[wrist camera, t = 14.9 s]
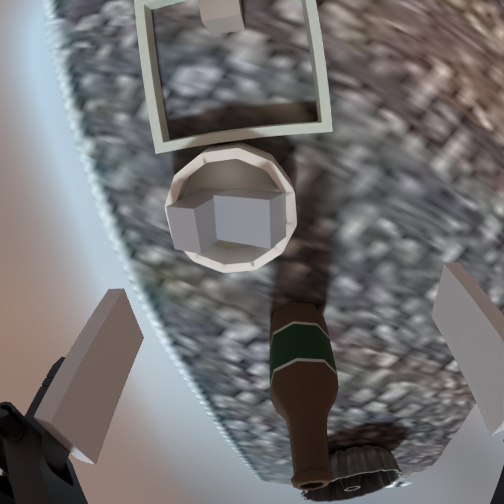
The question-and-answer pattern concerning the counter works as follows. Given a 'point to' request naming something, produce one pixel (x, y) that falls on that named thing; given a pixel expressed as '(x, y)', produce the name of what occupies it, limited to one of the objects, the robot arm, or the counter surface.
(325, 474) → the beer bottle
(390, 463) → the bundt pan
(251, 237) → the light grey cuboid
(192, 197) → the grey rectangular block
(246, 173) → the bowl
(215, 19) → the taupe block
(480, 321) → the robot arm
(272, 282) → the counter surface
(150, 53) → the square frame
